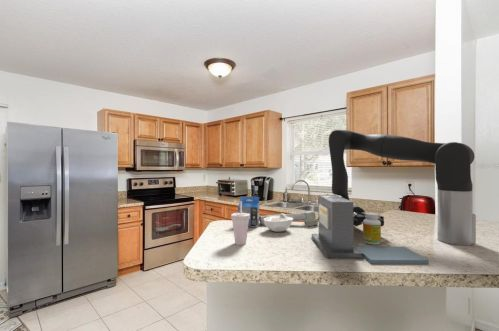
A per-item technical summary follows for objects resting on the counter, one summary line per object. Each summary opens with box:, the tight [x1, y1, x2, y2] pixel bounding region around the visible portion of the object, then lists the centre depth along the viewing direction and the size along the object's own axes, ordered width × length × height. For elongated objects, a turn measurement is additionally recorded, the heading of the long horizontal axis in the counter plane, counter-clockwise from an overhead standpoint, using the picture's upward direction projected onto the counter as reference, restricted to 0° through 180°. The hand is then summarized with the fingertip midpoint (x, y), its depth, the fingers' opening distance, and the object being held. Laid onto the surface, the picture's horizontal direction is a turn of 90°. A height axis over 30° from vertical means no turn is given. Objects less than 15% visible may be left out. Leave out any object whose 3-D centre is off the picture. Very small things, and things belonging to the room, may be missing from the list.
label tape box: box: [237, 196, 260, 228], centre depth 110 cm, size 9×4×12 cm, turn 76°
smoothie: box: [230, 200, 250, 246], centre depth 86 cm, size 6×6×14 cm
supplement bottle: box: [362, 211, 382, 246], centre depth 86 cm, size 5×5×10 cm
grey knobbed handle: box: [259, 210, 319, 227], centre depth 112 cm, size 5×7×25 cm
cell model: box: [264, 212, 294, 233], centre depth 102 cm, size 10×12×7 cm
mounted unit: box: [311, 194, 364, 260], centre depth 81 cm, size 10×20×16 cm, turn 179°
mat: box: [354, 245, 430, 265], centre depth 73 cm, size 15×11×1 cm
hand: (369, 223), depth 88 cm, fingers open, 8 cm apart
